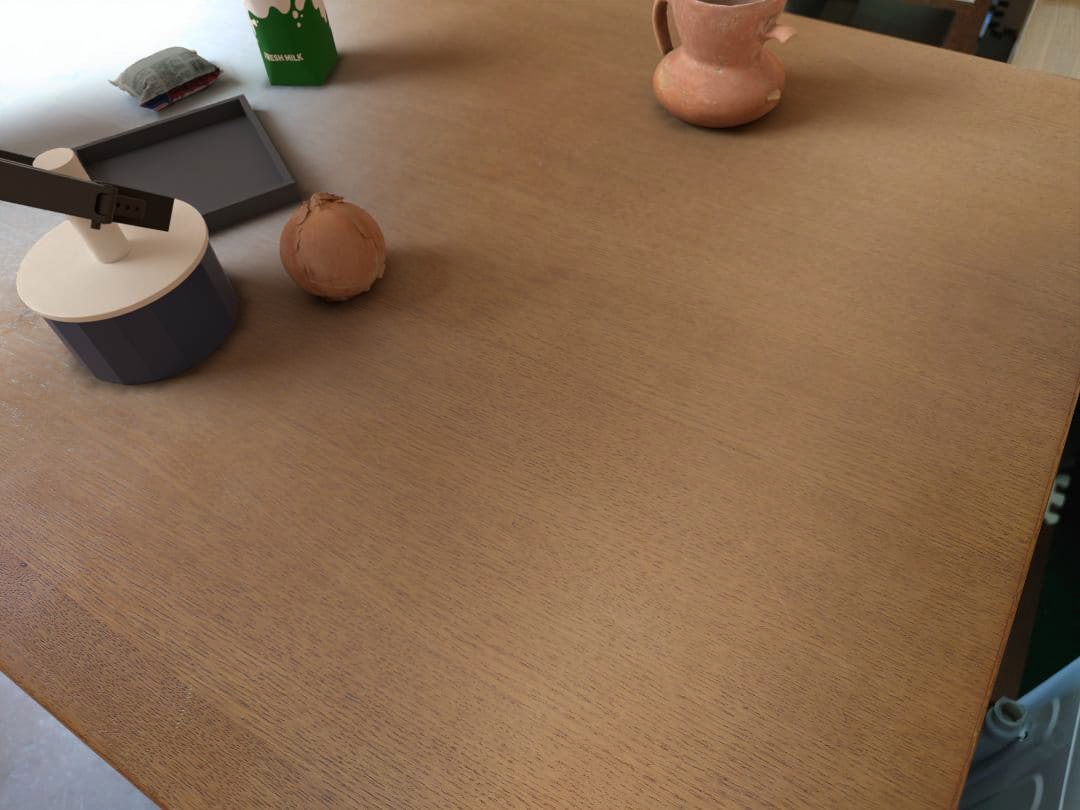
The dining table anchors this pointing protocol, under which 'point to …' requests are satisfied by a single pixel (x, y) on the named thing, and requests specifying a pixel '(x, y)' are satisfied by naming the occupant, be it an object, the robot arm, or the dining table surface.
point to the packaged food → (167, 77)
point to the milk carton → (293, 40)
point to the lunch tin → (158, 330)
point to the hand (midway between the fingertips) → (113, 197)
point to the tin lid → (106, 259)
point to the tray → (199, 162)
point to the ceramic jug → (719, 60)
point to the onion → (332, 248)
